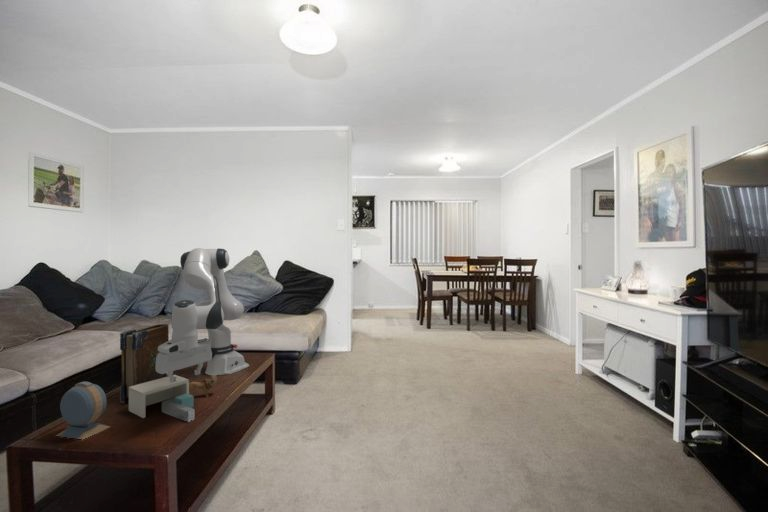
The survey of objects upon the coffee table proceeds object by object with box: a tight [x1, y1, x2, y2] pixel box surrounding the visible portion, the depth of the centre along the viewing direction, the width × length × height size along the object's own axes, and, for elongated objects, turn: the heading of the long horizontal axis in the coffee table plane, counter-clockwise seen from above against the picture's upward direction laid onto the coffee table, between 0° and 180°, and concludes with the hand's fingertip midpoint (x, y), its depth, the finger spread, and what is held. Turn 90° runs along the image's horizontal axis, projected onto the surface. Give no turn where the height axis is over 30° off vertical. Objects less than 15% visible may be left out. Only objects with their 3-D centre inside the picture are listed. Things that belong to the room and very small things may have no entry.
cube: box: [175, 393, 195, 409], centre depth 147 cm, size 5×5×5 cm
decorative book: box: [119, 323, 170, 404], centre depth 164 cm, size 23×7×30 cm, turn 177°
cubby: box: [128, 374, 190, 419], centre depth 149 cm, size 18×12×10 cm, turn 147°
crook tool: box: [161, 397, 196, 423], centre depth 142 cm, size 8×18×4 cm, turn 60°
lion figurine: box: [189, 375, 218, 398], centre depth 160 cm, size 15×5×9 cm, turn 113°
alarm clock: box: [55, 381, 111, 441], centre depth 128 cm, size 14×10×18 cm
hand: (185, 378), depth 138 cm, fingers open, 8 cm apart
